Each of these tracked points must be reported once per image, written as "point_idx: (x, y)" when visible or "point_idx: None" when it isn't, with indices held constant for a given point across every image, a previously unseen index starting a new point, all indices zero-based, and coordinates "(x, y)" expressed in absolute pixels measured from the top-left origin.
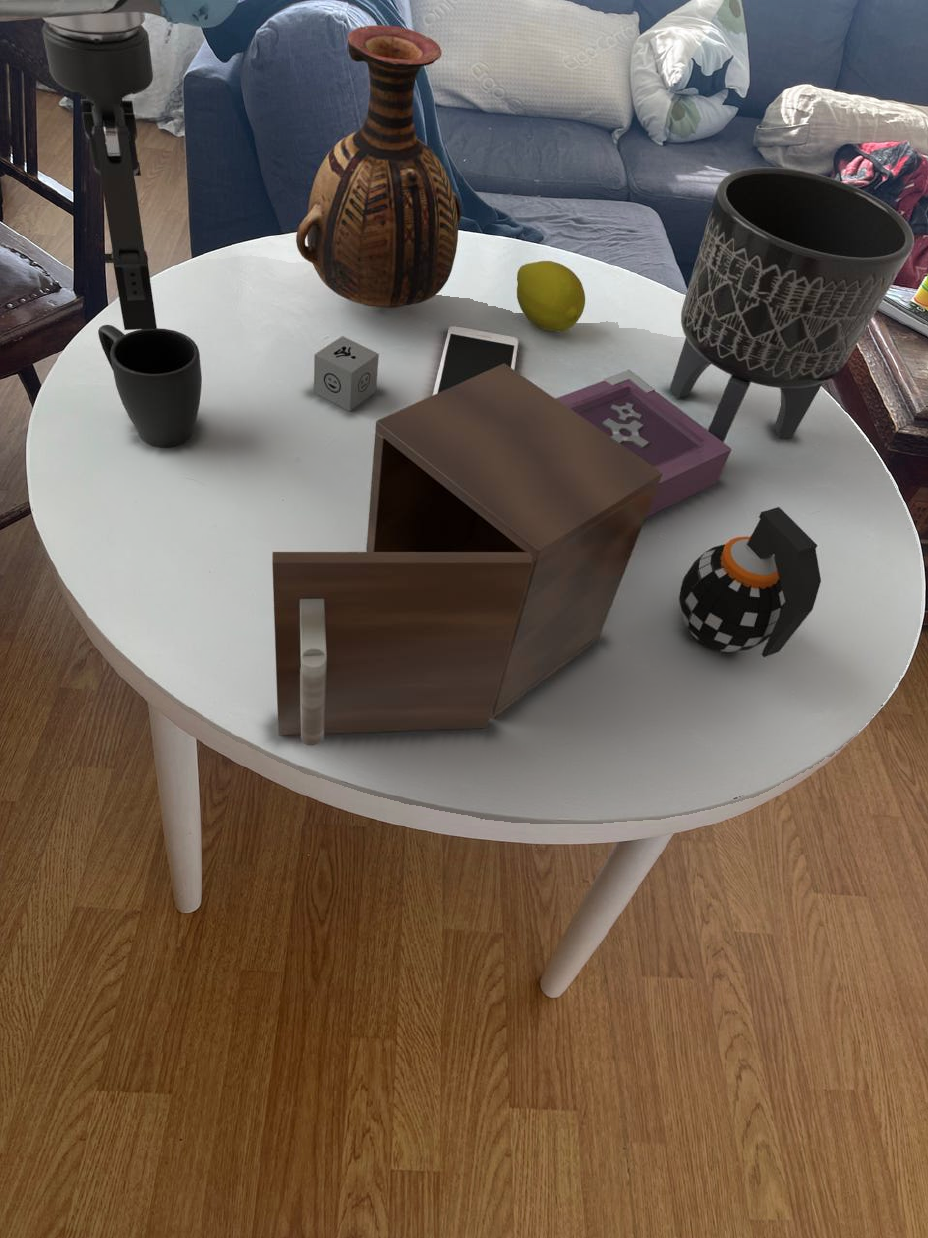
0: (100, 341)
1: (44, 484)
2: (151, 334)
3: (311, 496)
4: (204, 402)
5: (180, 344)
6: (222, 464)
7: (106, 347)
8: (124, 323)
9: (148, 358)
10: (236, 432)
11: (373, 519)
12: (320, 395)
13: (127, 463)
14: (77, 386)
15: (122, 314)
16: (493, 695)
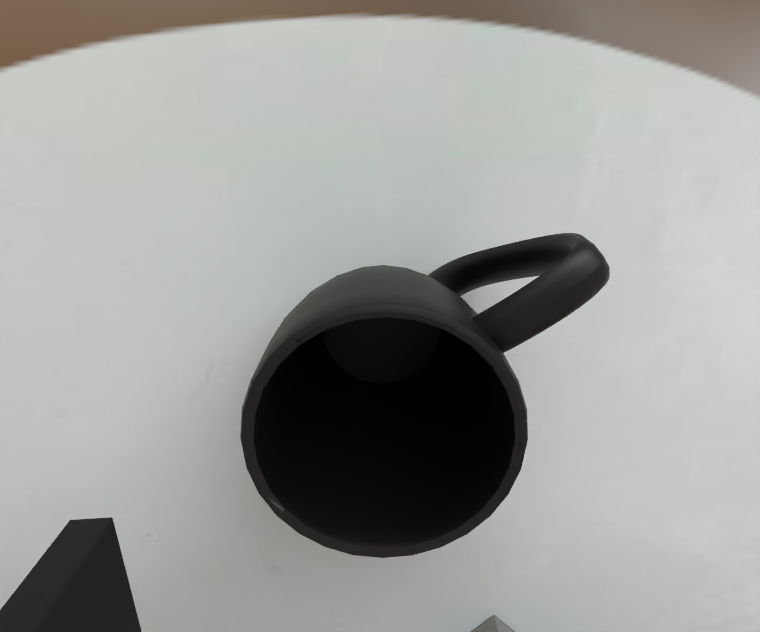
0: (566, 235)
1: (178, 44)
2: (508, 422)
3: (162, 580)
4: None
5: (473, 487)
6: None
7: (554, 247)
8: (54, 547)
9: (489, 366)
10: None
11: None
12: (480, 626)
13: (261, 242)
14: (588, 111)
15: (20, 586)
16: None
